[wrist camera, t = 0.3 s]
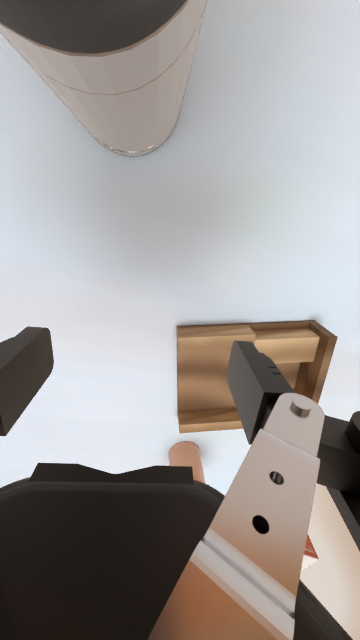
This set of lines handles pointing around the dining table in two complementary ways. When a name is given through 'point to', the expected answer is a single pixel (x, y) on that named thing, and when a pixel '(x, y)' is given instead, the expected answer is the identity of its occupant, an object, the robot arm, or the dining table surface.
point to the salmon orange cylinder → (187, 458)
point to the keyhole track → (213, 358)
